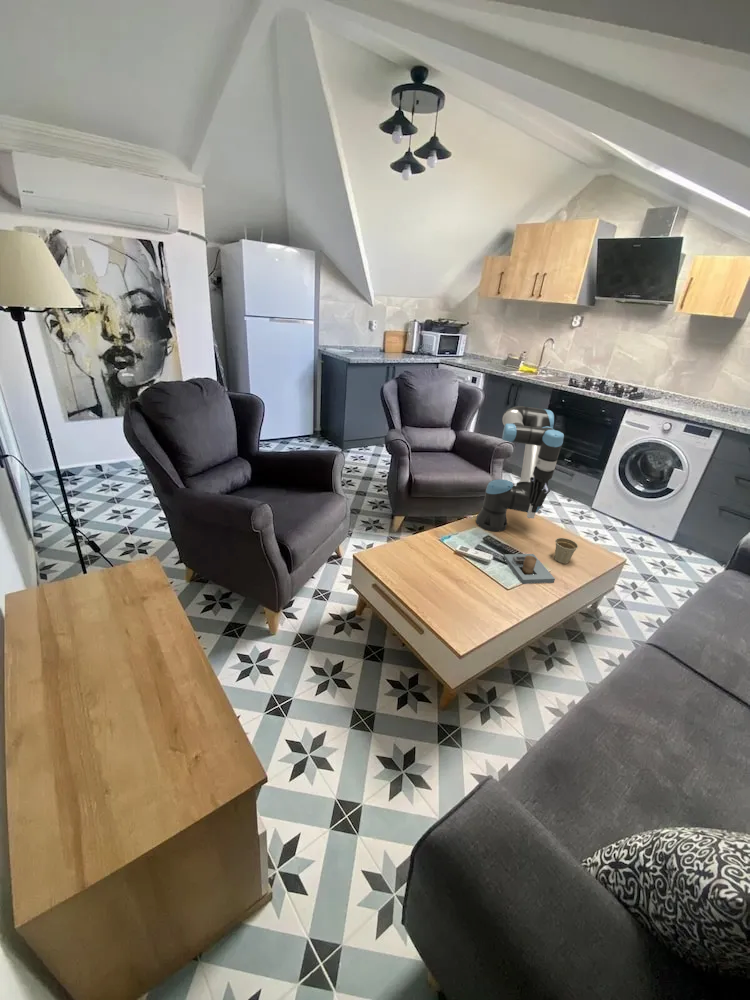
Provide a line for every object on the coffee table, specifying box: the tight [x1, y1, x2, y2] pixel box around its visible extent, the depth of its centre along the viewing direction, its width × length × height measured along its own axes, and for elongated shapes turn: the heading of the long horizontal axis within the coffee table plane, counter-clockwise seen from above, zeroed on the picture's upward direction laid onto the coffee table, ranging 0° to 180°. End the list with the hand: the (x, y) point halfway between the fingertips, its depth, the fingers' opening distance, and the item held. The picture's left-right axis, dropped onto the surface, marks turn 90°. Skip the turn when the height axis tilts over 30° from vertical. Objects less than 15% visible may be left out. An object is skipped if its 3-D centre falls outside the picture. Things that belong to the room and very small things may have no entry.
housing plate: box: [503, 553, 556, 585], centre depth 175 cm, size 18×14×2 cm
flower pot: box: [554, 537, 579, 564], centre depth 184 cm, size 9×9×9 cm
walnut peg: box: [521, 555, 538, 575], centre depth 171 cm, size 4×4×8 cm
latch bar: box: [512, 556, 526, 566], centre depth 176 cm, size 3×8×3 cm, turn 99°
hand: (530, 517), depth 182 cm, fingers closed
